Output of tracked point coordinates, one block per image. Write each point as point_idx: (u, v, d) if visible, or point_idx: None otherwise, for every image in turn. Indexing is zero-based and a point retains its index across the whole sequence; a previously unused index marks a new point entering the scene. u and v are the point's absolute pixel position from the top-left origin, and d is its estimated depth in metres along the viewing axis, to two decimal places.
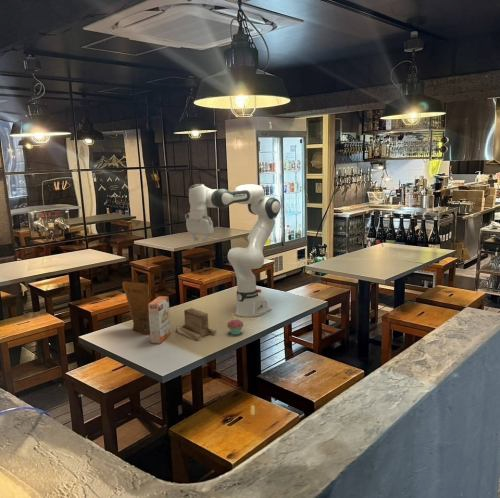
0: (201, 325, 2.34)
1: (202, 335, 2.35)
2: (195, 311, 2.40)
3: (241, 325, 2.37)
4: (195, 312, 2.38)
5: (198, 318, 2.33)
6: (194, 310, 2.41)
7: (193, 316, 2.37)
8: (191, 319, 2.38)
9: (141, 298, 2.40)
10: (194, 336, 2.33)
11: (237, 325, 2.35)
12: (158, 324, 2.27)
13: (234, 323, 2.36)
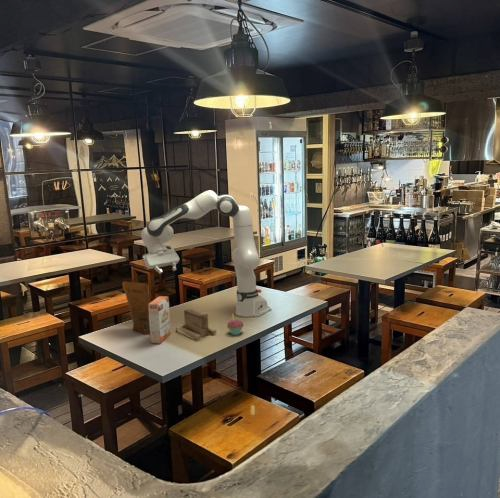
0: (201, 325, 2.34)
1: (202, 335, 2.35)
2: (195, 311, 2.40)
3: (241, 325, 2.37)
4: (195, 312, 2.38)
5: (198, 318, 2.33)
6: (194, 310, 2.41)
7: (193, 316, 2.37)
8: (191, 319, 2.38)
9: (141, 298, 2.40)
10: (194, 336, 2.33)
11: (237, 325, 2.35)
12: (158, 324, 2.27)
13: (234, 323, 2.36)
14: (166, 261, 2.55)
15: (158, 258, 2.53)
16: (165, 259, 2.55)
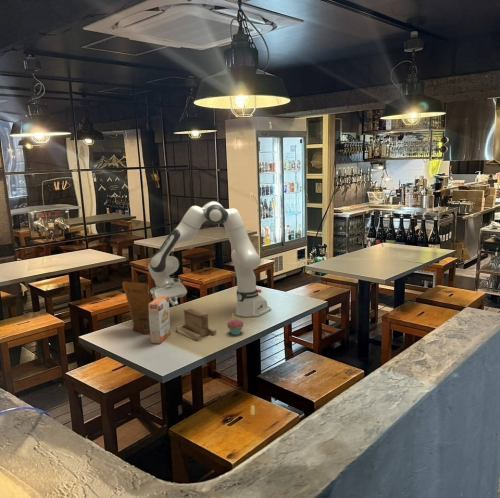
0: (201, 325, 2.34)
1: (202, 335, 2.35)
2: (195, 311, 2.40)
3: (241, 325, 2.37)
4: (195, 312, 2.38)
5: (198, 318, 2.33)
6: (194, 310, 2.41)
7: (193, 316, 2.37)
8: (191, 319, 2.38)
9: (141, 298, 2.40)
10: (194, 336, 2.33)
11: (237, 325, 2.35)
12: (158, 324, 2.27)
13: (234, 323, 2.36)
14: (173, 294, 2.54)
15: (165, 292, 2.53)
16: (173, 292, 2.55)
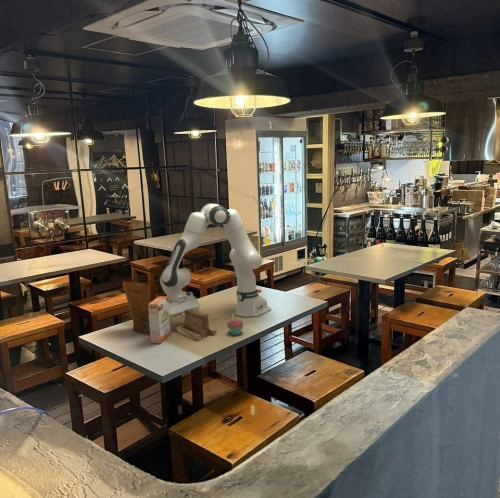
0: (201, 326, 2.33)
1: (203, 335, 2.35)
2: (196, 311, 2.40)
3: (241, 325, 2.37)
4: (196, 312, 2.38)
5: (199, 318, 2.33)
6: (195, 310, 2.41)
7: (193, 316, 2.37)
8: (192, 319, 2.38)
9: (141, 298, 2.40)
10: (194, 336, 2.33)
11: (237, 325, 2.35)
12: (158, 324, 2.27)
13: (234, 323, 2.36)
14: (186, 309, 2.47)
15: (178, 306, 2.46)
16: (186, 306, 2.48)
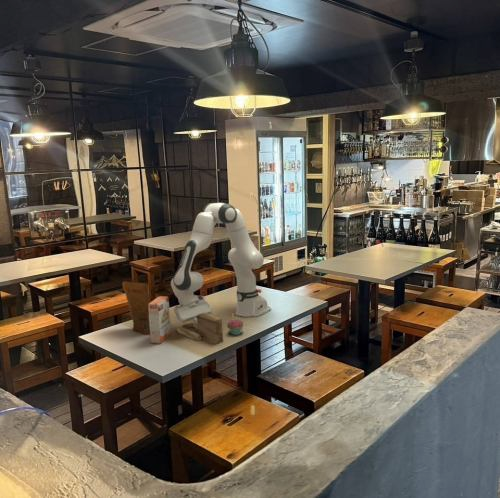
0: (215, 331, 2.25)
1: (216, 341, 2.26)
2: (209, 315, 2.32)
3: (241, 325, 2.37)
4: (209, 317, 2.30)
5: (212, 323, 2.25)
6: (207, 315, 2.33)
7: (206, 321, 2.29)
8: (205, 324, 2.30)
9: (141, 298, 2.40)
10: (194, 336, 2.33)
11: (237, 325, 2.35)
12: (158, 324, 2.27)
13: (234, 323, 2.36)
14: (198, 313, 2.39)
15: (190, 310, 2.38)
16: (198, 311, 2.40)
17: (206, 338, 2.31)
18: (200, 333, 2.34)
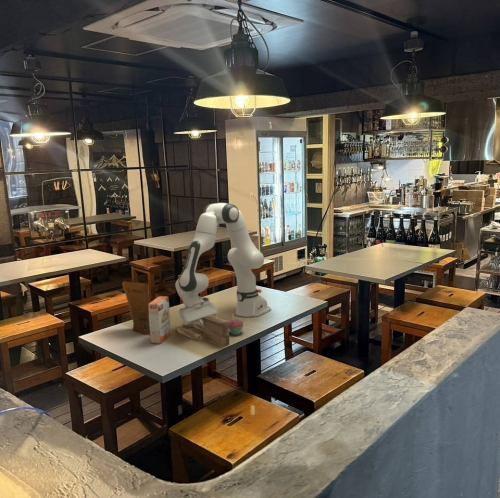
0: (221, 334, 2.22)
1: (222, 344, 2.23)
2: (215, 318, 2.28)
3: (241, 325, 2.37)
4: (215, 319, 2.26)
5: (219, 326, 2.21)
6: (213, 317, 2.29)
7: (212, 323, 2.25)
8: (211, 327, 2.26)
9: (141, 298, 2.40)
10: (194, 336, 2.33)
11: (237, 325, 2.35)
12: (158, 324, 2.27)
13: (234, 323, 2.36)
14: (204, 315, 2.36)
15: (195, 312, 2.34)
16: (203, 313, 2.36)
17: (212, 341, 2.27)
18: (206, 336, 2.31)
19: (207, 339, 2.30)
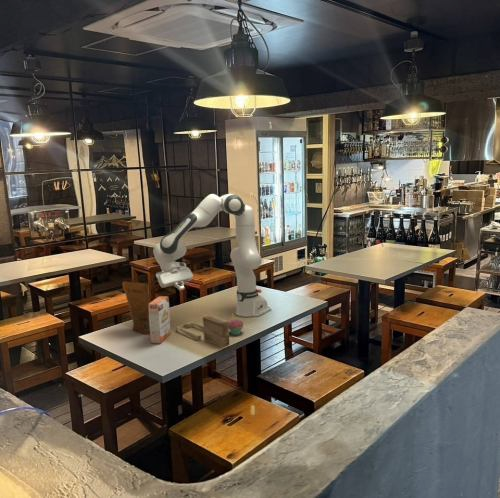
0: (221, 334, 2.22)
1: (222, 344, 2.23)
2: (215, 318, 2.28)
3: (241, 325, 2.37)
4: (215, 319, 2.26)
5: (219, 326, 2.21)
6: (213, 317, 2.29)
7: (212, 323, 2.25)
8: (211, 327, 2.26)
9: (141, 298, 2.40)
10: (194, 336, 2.33)
11: (237, 325, 2.35)
12: (158, 324, 2.27)
13: (234, 323, 2.36)
14: (180, 279, 2.47)
15: (171, 276, 2.46)
16: (179, 276, 2.48)
17: (212, 341, 2.27)
18: (206, 336, 2.31)
19: (207, 339, 2.30)
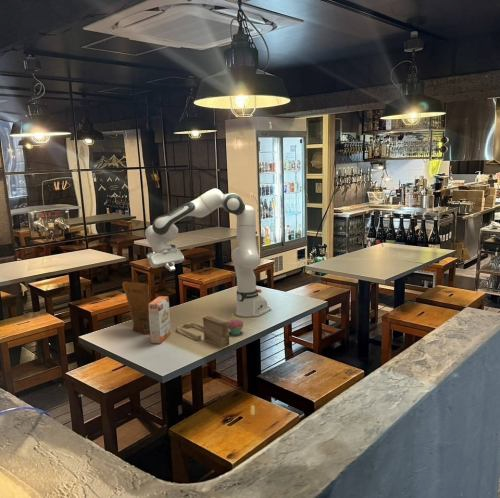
0: (221, 334, 2.22)
1: (222, 344, 2.23)
2: (215, 318, 2.28)
3: (241, 325, 2.37)
4: (215, 319, 2.26)
5: (219, 326, 2.21)
6: (213, 317, 2.29)
7: (212, 323, 2.25)
8: (211, 327, 2.26)
9: (141, 298, 2.40)
10: (194, 336, 2.33)
11: (237, 325, 2.35)
12: (158, 324, 2.27)
13: (234, 323, 2.36)
14: (170, 260, 2.51)
15: (162, 257, 2.50)
16: (170, 258, 2.52)
17: (212, 341, 2.27)
18: (206, 336, 2.31)
19: (207, 339, 2.30)
